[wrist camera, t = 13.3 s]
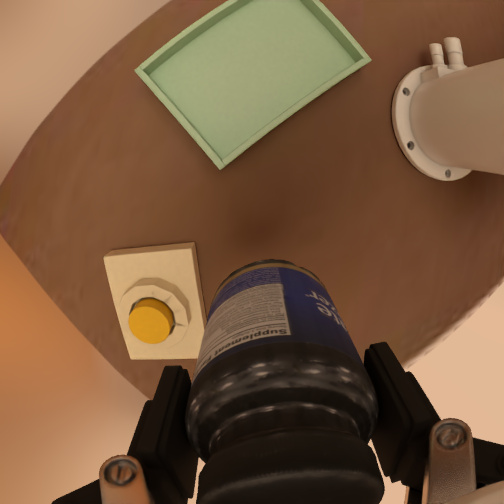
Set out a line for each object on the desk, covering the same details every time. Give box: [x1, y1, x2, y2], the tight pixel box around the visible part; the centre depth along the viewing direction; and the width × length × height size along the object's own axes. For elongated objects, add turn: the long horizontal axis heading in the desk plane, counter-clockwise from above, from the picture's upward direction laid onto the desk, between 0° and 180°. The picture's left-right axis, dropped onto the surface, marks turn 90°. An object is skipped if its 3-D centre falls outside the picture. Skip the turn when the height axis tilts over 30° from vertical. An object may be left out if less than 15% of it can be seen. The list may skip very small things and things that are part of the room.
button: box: [128, 298, 173, 344], centre depth 28 cm, size 4×4×2 cm
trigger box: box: [103, 242, 207, 359], centre depth 30 cm, size 12×9×4 cm
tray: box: [134, 0, 372, 170], centre depth 24 cm, size 17×12×3 cm
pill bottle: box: [185, 259, 385, 504], centre depth 11 cm, size 6×6×11 cm
